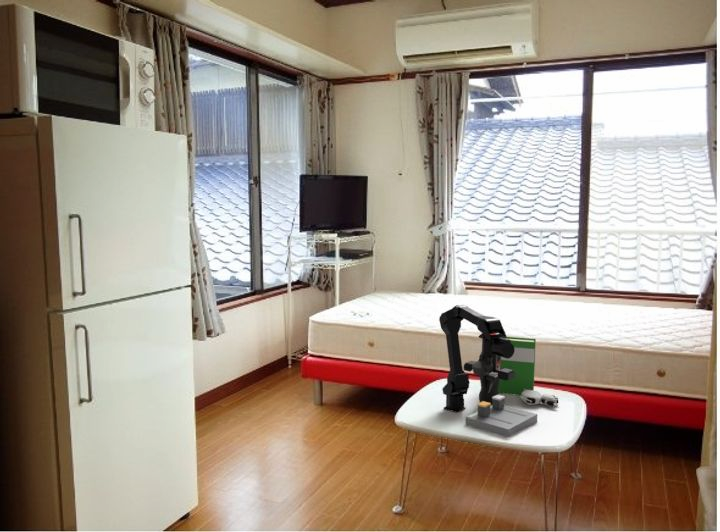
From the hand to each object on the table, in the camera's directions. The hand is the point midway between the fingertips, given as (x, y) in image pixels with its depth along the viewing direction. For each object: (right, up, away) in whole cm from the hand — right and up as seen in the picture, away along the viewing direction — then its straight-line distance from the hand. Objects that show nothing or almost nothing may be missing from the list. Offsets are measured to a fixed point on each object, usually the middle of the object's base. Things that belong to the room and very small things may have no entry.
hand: (487, 392), depth 225 cm
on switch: (+6, -9, +11) cm, 15 cm away
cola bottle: (+6, -10, +25) cm, 28 cm away
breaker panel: (+6, -12, +4) cm, 14 cm away
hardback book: (+20, -9, +42) cm, 48 cm away
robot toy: (+27, -11, +26) cm, 39 cm away
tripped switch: (-1, -9, +3) cm, 10 cm away
